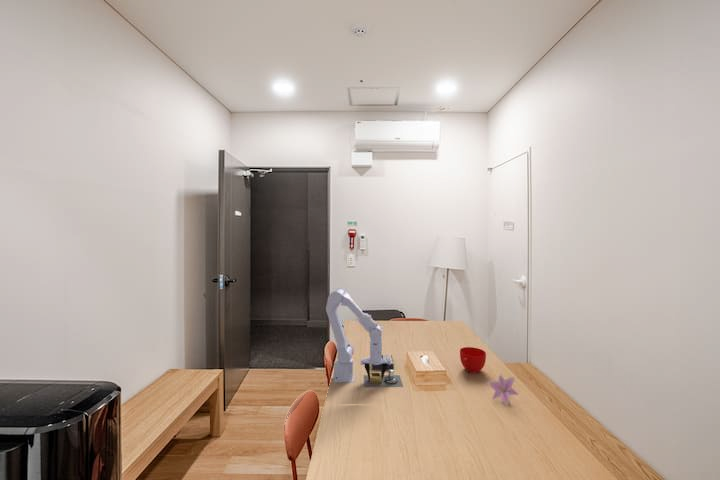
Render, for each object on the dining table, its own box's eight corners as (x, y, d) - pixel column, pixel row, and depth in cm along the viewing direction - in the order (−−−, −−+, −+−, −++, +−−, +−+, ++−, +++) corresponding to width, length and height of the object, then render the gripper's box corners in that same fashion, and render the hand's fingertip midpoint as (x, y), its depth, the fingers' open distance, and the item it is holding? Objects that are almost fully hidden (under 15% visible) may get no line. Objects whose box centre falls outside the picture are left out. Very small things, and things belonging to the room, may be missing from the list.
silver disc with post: (385, 384, 151) (385, 373, 151) (383, 377, 157) (383, 367, 157) (398, 383, 151) (398, 373, 151) (396, 377, 157) (396, 367, 157)
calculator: (391, 353, 181) (393, 362, 166) (391, 361, 181) (393, 371, 166) (372, 353, 182) (372, 362, 167) (372, 360, 182) (372, 370, 167)
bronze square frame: (370, 383, 151) (370, 377, 151) (369, 378, 157) (369, 372, 156) (381, 383, 151) (381, 377, 151) (380, 378, 157) (380, 372, 157)
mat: (364, 388, 148) (364, 387, 148) (363, 376, 160) (363, 375, 160) (403, 387, 148) (403, 386, 148) (399, 376, 160) (399, 375, 160)
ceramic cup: (451, 372, 164) (451, 353, 164) (466, 363, 177) (466, 345, 177) (476, 381, 156) (476, 360, 155) (489, 370, 168) (490, 351, 168)
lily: (486, 393, 146) (482, 378, 142) (508, 382, 147) (505, 367, 143) (503, 415, 135) (499, 400, 131) (527, 402, 136) (524, 387, 132)
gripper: (360, 354, 149) (360, 383, 150) (391, 354, 150) (391, 382, 150) (360, 348, 156) (360, 376, 157) (390, 348, 157) (389, 376, 157)
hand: (375, 379), depth 154 cm, fingers closed on bronze square frame, 6 cm apart
